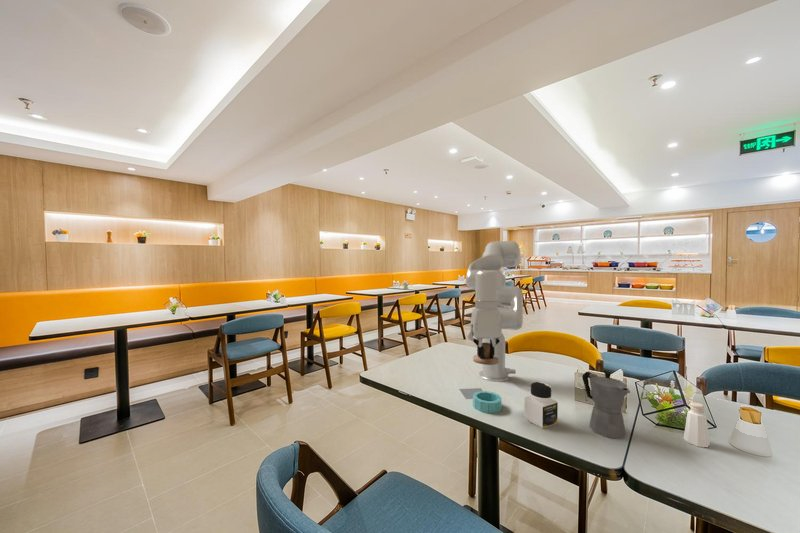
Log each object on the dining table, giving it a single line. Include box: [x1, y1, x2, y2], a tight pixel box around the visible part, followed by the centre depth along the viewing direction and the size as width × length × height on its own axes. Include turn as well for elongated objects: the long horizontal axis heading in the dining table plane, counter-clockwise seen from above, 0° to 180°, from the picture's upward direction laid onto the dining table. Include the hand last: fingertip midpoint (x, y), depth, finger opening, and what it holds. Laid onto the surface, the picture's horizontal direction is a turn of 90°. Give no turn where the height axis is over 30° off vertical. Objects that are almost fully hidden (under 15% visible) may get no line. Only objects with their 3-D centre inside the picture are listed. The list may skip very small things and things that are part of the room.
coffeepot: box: [581, 371, 631, 440], centre depth 94 cm, size 15×9×18 cm, turn 16°
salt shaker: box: [683, 401, 711, 448], centre depth 87 cm, size 5×5×11 cm
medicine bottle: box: [523, 381, 559, 429], centre depth 98 cm, size 7×7×12 cm
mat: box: [459, 387, 484, 400], centre depth 118 cm, size 9×9×1 cm
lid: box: [472, 342, 498, 365], centre depth 107 cm, size 8×8×6 cm
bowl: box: [472, 390, 503, 414], centre depth 107 cm, size 10×10×4 cm
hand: (485, 357), depth 107 cm, fingers closed on lid, 3 cm apart
